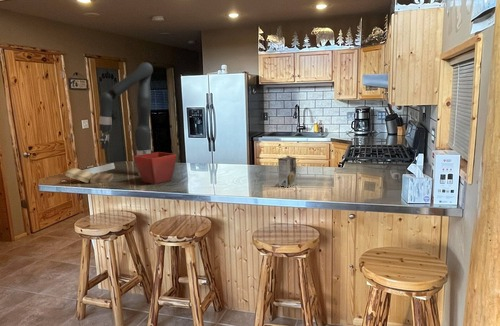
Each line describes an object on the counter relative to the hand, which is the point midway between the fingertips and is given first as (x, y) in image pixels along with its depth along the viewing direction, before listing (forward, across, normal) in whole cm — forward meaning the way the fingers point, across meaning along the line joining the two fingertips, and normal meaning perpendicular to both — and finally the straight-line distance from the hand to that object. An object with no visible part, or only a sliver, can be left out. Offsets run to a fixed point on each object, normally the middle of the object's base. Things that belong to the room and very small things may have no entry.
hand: (104, 148), depth 240 cm
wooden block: (+20, -8, -1) cm, 22 cm away
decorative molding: (+22, +24, +13) cm, 36 cm away
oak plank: (+19, -8, +13) cm, 24 cm away
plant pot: (+16, -20, -36) cm, 44 cm away
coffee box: (+7, -51, -112) cm, 124 cm away
